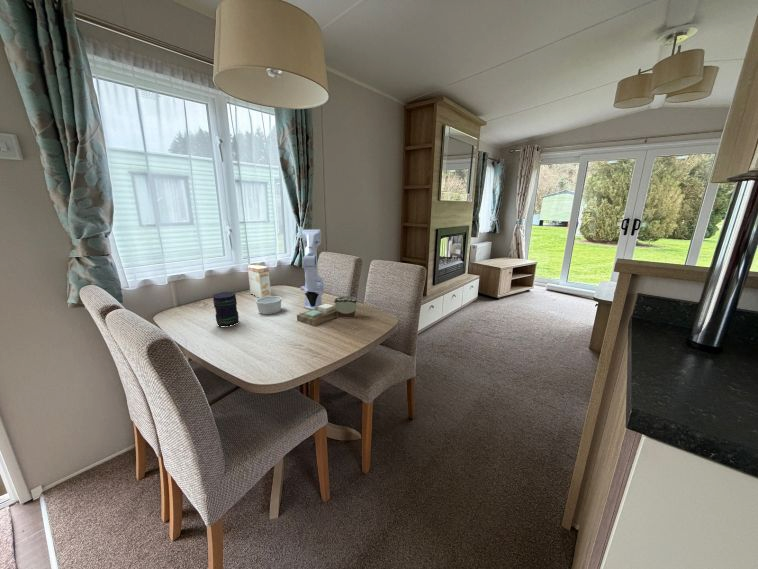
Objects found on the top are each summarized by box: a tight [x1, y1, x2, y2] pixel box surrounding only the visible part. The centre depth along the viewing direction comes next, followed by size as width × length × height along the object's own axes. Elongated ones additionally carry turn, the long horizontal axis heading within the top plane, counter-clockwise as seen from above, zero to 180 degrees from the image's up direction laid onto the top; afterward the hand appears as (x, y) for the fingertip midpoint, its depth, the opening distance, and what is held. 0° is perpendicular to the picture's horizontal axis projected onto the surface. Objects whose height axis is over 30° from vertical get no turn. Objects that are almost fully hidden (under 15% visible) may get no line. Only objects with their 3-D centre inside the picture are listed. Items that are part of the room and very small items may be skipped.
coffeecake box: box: [247, 264, 272, 299], centre depth 188 cm, size 15×7×20 cm, turn 48°
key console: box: [296, 306, 337, 327], centre depth 152 cm, size 12×20×3 cm, turn 145°
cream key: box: [318, 303, 335, 312], centre depth 155 cm, size 6×6×2 cm
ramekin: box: [255, 295, 283, 315], centre depth 161 cm, size 13×13×7 cm
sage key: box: [305, 309, 322, 318], centre depth 148 cm, size 6×6×2 cm
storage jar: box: [212, 291, 240, 326], centre depth 142 cm, size 10×10×15 cm
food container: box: [333, 295, 358, 319], centre depth 153 cm, size 12×6×10 cm, turn 84°
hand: (312, 306), depth 147 cm, fingers closed
